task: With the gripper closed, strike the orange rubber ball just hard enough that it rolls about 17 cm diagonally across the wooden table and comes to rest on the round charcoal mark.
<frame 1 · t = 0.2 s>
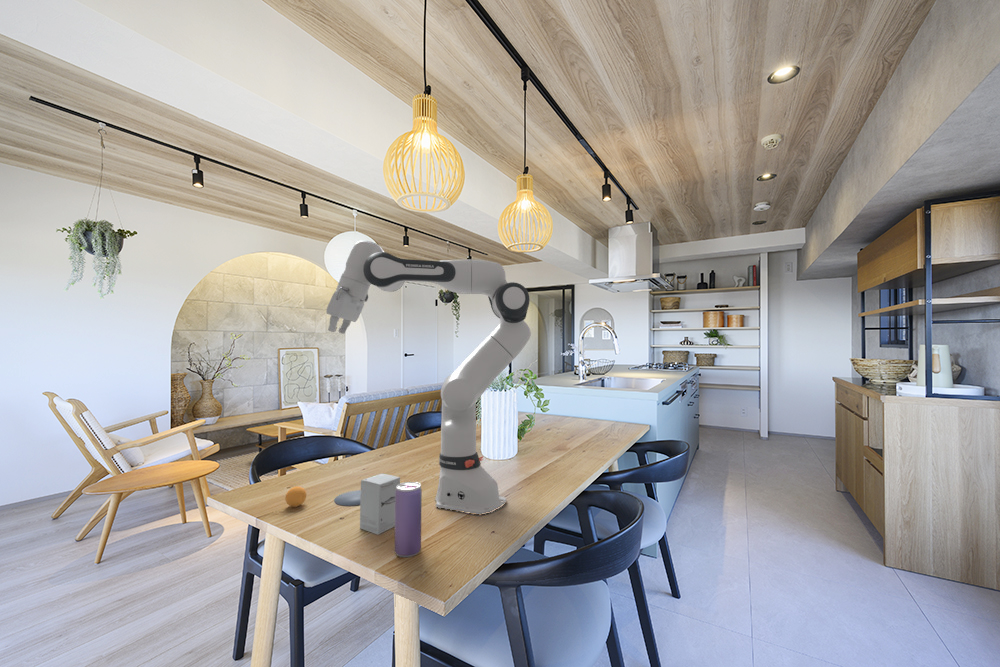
hand: (336, 332, 124), 52 cm above the table, tool tilted 20°, fingers open, 8 cm apart
beverage can: (407, 552, 92), on the table
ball: (296, 496, 120), on the table
supplement box: (379, 527, 106), on the table
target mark: (356, 498, 126), on the table
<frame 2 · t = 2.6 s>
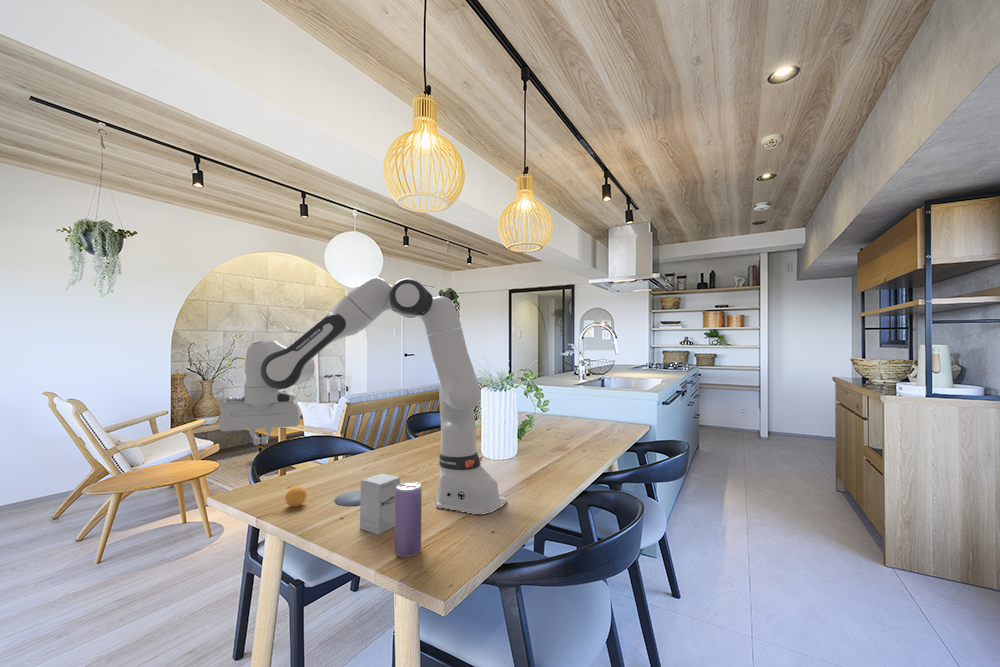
hand: (260, 444, 117), 19 cm above the table, tool pointing down, fingers closed
nothing on the table moved.
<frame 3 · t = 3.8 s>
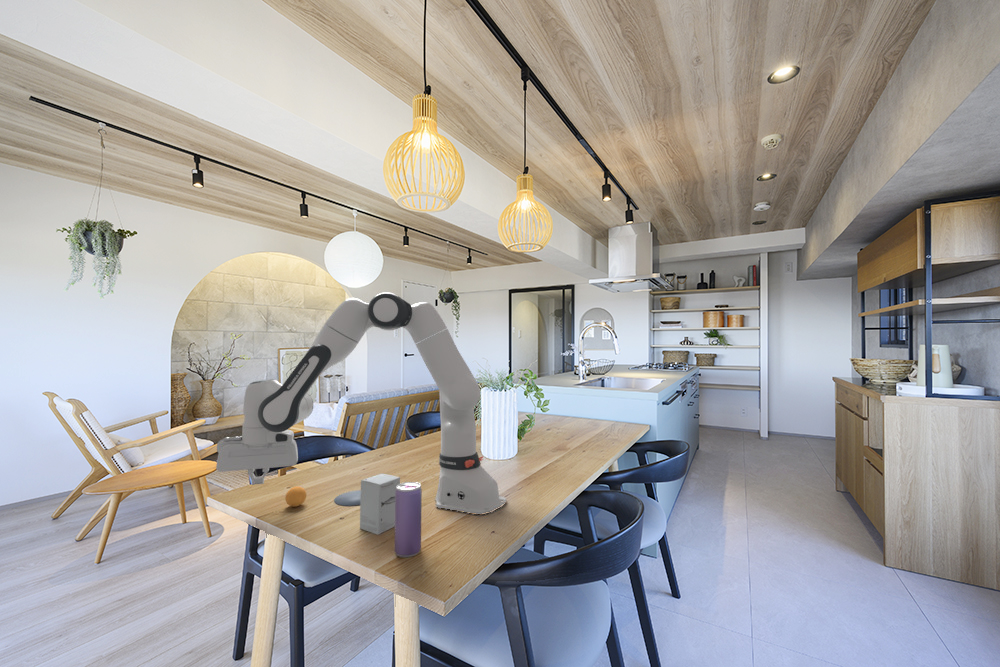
hand: (257, 483, 116), 8 cm above the table, tool pointing down, fingers closed
nothing on the table moved.
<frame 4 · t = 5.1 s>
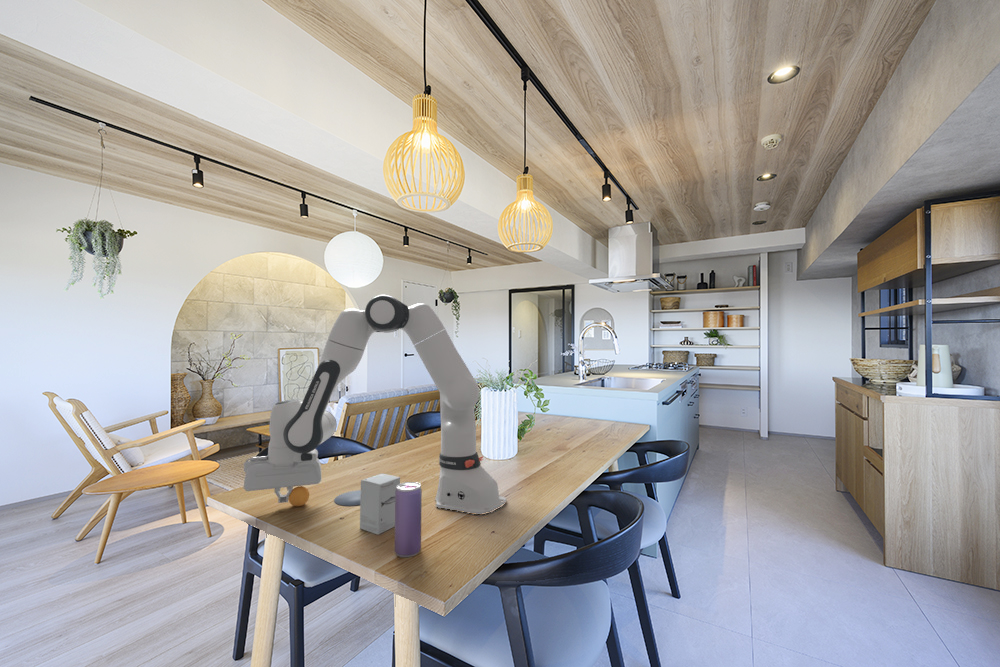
hand: (283, 502, 118), 2 cm above the table, tool pointing down, fingers closed
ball: (299, 496, 120), on the table, touching gripper
everything else where it was.
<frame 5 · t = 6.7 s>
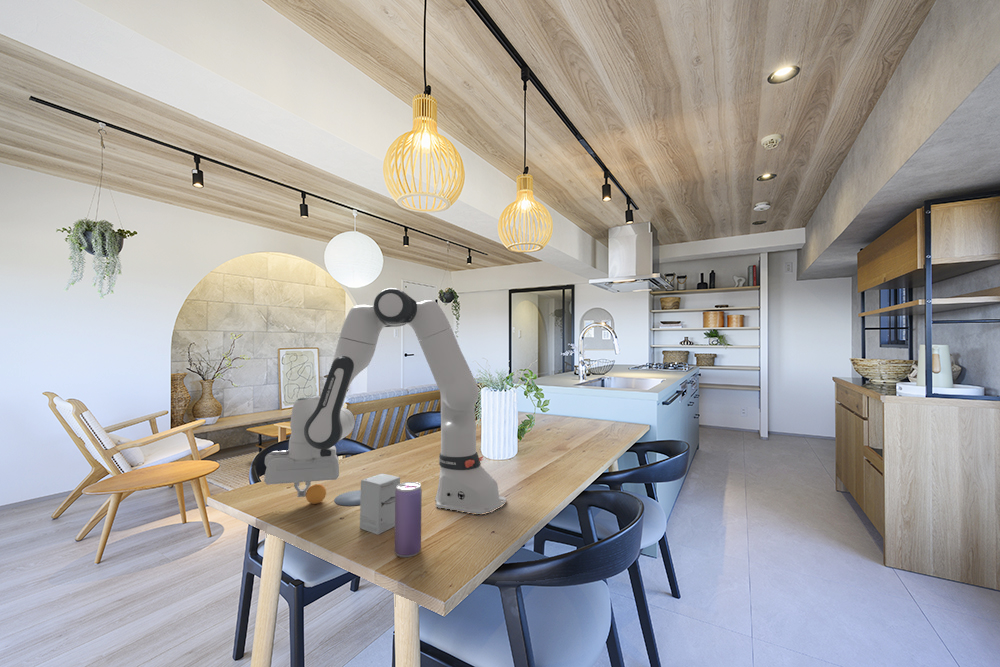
hand: (301, 496, 120), 3 cm above the table, tool pointing down, fingers closed
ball: (316, 493, 122), on the table, touching gripper
everything else where it was.
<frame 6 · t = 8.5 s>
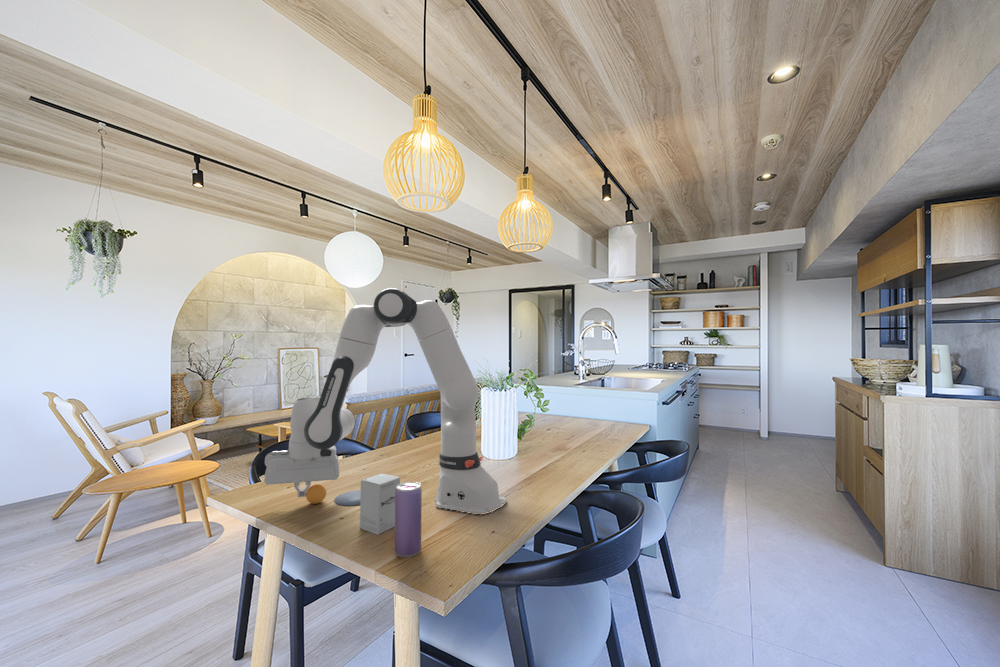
hand: (301, 496, 121), 3 cm above the table, tool pointing down, fingers closed
nothing on the table moved.
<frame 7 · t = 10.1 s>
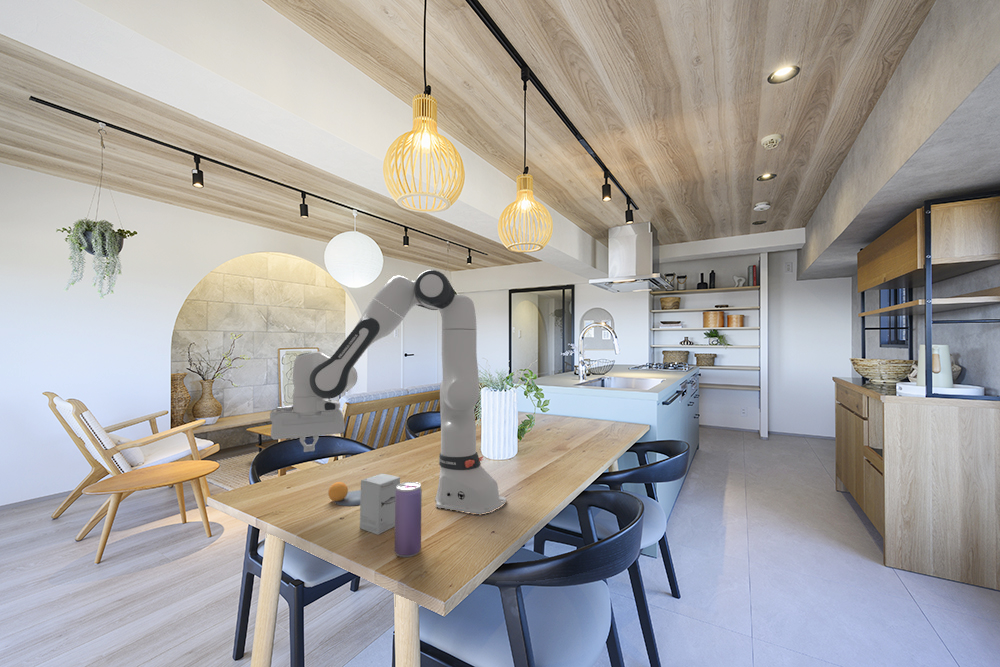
hand: (309, 451, 121), 16 cm above the table, tool pointing down, fingers closed
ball: (338, 491, 124), on the table
everything else where it was.
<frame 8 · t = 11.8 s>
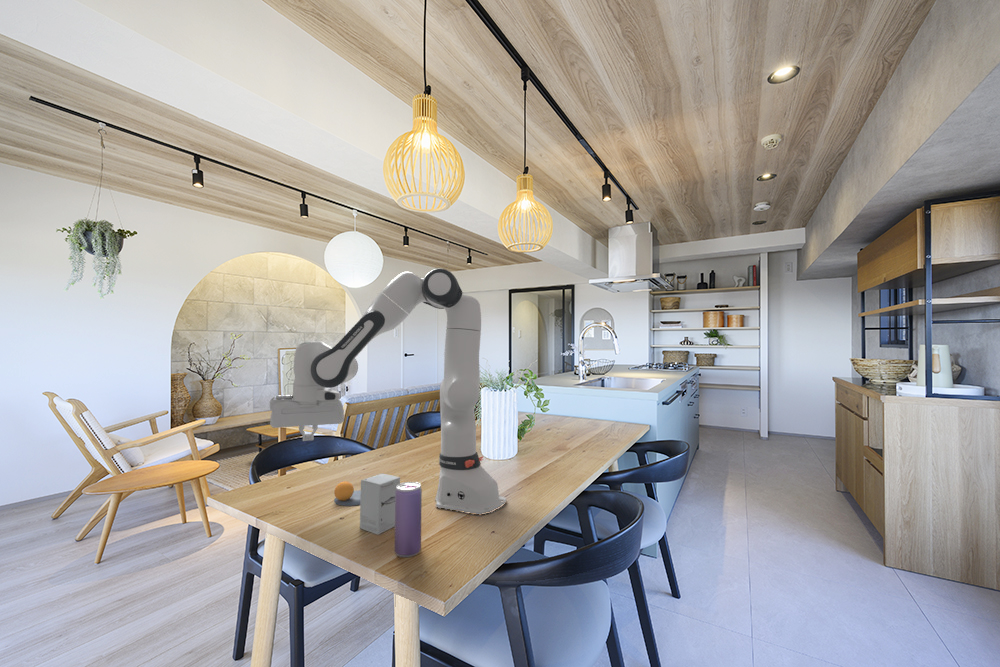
hand: (308, 440, 122), 19 cm above the table, tool pointing down, fingers closed
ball: (344, 491, 124), on the table
everything else where it was.
at the end: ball 3.7 cm from the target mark (horizontally); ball at rest at the end (0.0 cm/s); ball moved 13.4 cm from its start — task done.
